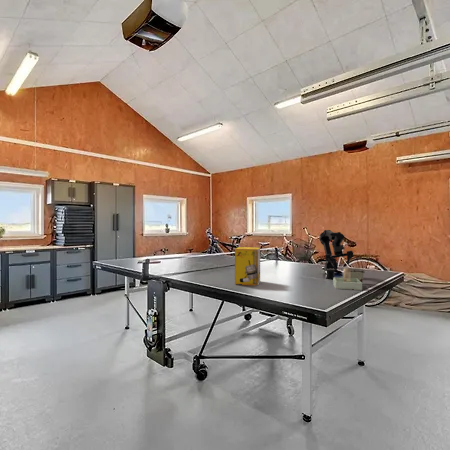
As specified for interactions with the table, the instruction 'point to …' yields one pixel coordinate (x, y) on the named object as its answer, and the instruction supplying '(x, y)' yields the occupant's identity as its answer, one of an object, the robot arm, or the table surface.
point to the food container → (357, 274)
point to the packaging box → (247, 266)
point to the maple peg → (347, 275)
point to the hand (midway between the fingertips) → (341, 266)
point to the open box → (347, 284)
